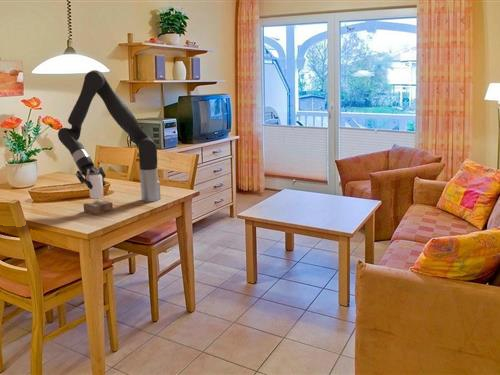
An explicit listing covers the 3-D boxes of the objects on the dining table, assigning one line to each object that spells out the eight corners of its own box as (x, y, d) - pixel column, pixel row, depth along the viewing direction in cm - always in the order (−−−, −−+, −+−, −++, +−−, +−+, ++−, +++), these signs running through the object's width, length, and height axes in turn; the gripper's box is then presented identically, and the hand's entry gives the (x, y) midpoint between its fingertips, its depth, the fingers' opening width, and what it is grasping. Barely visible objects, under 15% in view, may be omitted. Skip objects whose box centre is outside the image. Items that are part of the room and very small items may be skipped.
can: (105, 195, 242) (103, 172, 239) (101, 198, 235) (99, 174, 233) (92, 195, 241) (90, 172, 239) (88, 199, 235) (86, 175, 232)
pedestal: (101, 207, 247) (100, 199, 246) (113, 210, 241) (112, 202, 240) (84, 211, 240) (83, 203, 239) (95, 215, 233) (94, 206, 232)
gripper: (72, 157, 233) (87, 185, 228) (98, 153, 244) (113, 179, 239) (67, 167, 238) (82, 194, 233) (93, 163, 248) (107, 188, 244)
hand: (97, 186), depth 236 cm, fingers closed on can, 6 cm apart
